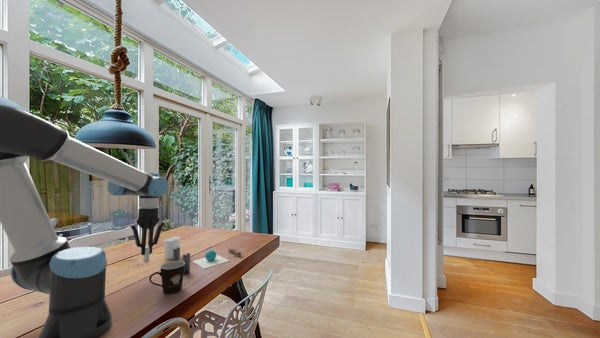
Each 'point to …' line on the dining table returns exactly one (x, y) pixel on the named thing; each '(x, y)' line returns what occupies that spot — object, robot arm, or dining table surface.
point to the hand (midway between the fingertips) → (146, 261)
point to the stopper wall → (234, 252)
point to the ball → (210, 255)
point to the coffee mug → (171, 276)
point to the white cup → (171, 246)
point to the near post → (186, 263)
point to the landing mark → (210, 262)
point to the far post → (176, 254)
